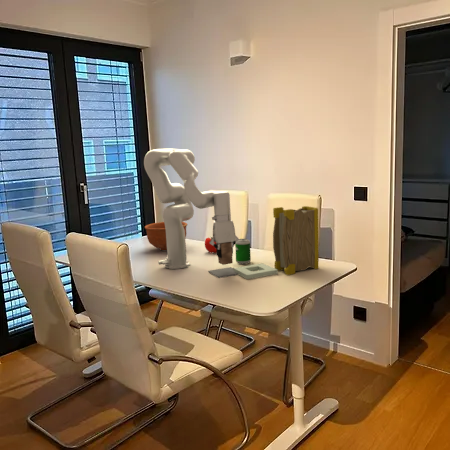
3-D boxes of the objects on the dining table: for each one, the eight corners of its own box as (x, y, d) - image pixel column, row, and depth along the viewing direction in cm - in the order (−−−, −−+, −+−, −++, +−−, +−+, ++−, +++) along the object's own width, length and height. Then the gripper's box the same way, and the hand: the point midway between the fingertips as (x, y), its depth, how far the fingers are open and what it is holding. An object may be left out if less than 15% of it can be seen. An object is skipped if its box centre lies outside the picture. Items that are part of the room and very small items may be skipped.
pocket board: (247, 279, 212) (247, 275, 212) (233, 272, 225) (233, 268, 225) (277, 273, 219) (277, 269, 219) (262, 267, 232) (262, 263, 231)
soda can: (252, 261, 243) (252, 238, 241) (247, 265, 237) (246, 241, 235) (239, 260, 246) (238, 238, 244) (233, 264, 240) (232, 241, 238)
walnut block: (222, 264, 220) (221, 243, 218) (218, 262, 224) (217, 242, 223) (232, 263, 222) (231, 242, 220) (228, 261, 226) (226, 240, 225)
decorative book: (307, 264, 234) (306, 203, 228) (320, 269, 224) (320, 206, 219) (272, 270, 225) (270, 208, 220) (285, 275, 215) (283, 210, 210)
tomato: (206, 255, 261) (206, 240, 259) (203, 251, 271) (202, 236, 270) (225, 253, 263) (224, 238, 262) (221, 249, 274) (220, 234, 272)
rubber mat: (218, 278, 216) (218, 276, 216) (208, 272, 227) (208, 270, 227) (242, 273, 221) (241, 272, 221) (230, 268, 232) (230, 267, 232)
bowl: (179, 255, 264) (177, 228, 262) (138, 253, 271) (136, 228, 269) (194, 245, 288) (193, 221, 285) (156, 244, 295) (155, 220, 292)
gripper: (209, 221, 213) (211, 260, 216) (242, 216, 220) (244, 255, 223) (202, 219, 219) (205, 257, 222) (235, 215, 226) (237, 252, 229)
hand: (225, 255), depth 223 cm, fingers closed on walnut block, 5 cm apart
